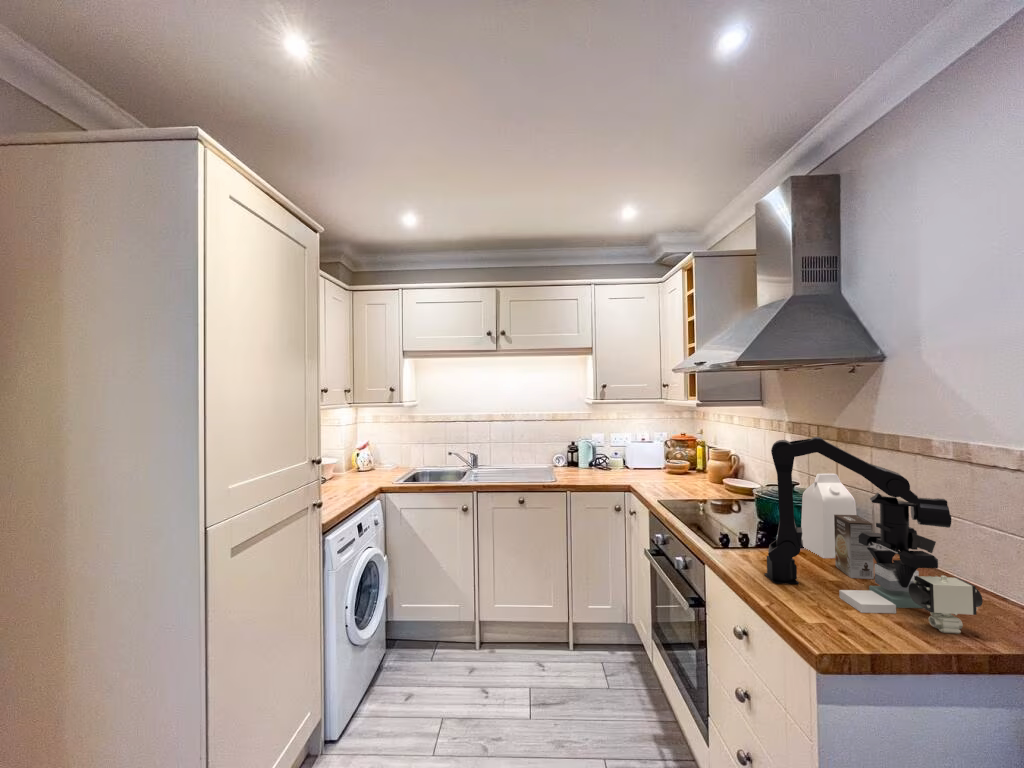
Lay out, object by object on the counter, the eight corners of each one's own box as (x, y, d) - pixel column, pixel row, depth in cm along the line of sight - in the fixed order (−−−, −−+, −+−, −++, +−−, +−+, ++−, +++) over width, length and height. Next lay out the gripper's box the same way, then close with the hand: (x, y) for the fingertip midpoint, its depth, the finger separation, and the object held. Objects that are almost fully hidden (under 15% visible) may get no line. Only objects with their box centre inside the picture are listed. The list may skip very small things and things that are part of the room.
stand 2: (892, 607, 111) (892, 599, 111) (869, 593, 119) (869, 585, 119) (927, 608, 110) (926, 600, 110) (901, 593, 118) (900, 586, 118)
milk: (834, 545, 156) (832, 470, 156) (860, 557, 144) (857, 476, 145) (800, 546, 156) (798, 471, 156) (823, 558, 144) (821, 477, 145)
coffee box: (834, 566, 138) (832, 513, 138) (857, 567, 136) (856, 514, 137) (850, 578, 129) (848, 522, 129) (875, 579, 127) (874, 523, 128)
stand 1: (861, 612, 108) (861, 604, 108) (839, 597, 116) (839, 589, 116) (896, 613, 108) (895, 604, 108) (871, 598, 116) (871, 590, 116)
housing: (919, 591, 112) (918, 568, 112) (889, 590, 112) (889, 567, 113) (903, 583, 117) (902, 560, 117) (874, 582, 117) (874, 560, 118)
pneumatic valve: (984, 637, 97) (982, 581, 97) (924, 633, 99) (922, 578, 99) (963, 624, 102) (961, 571, 103) (906, 621, 104) (904, 569, 104)
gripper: (961, 533, 105) (963, 600, 105) (898, 512, 124) (900, 569, 123) (911, 532, 106) (913, 599, 106) (856, 512, 125) (857, 568, 124)
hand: (896, 582), depth 115 cm, fingers closed on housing, 5 cm apart
